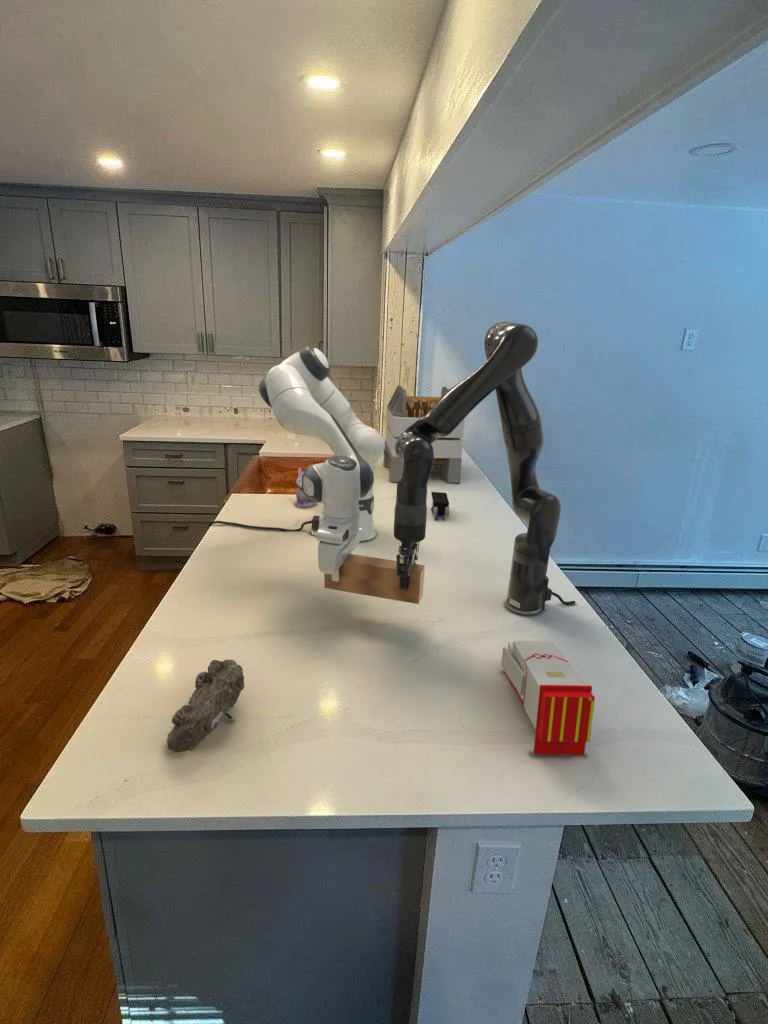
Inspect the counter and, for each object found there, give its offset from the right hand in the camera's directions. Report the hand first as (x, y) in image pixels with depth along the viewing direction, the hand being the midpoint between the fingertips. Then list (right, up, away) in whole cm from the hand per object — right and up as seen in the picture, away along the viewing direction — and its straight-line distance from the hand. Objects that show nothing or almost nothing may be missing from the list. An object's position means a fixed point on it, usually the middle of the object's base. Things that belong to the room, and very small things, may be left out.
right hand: (406, 583), depth 138 cm
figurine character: (+16, +16, +81) cm, 85 cm away
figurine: (-36, +20, +87) cm, 96 cm away
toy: (+26, -22, -23) cm, 41 cm away
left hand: (-17, +2, +4) cm, 17 cm away
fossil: (-38, -22, -30) cm, 53 cm away
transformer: (+12, +36, +137) cm, 142 cm away
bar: (-8, -2, +3) cm, 9 cm away
